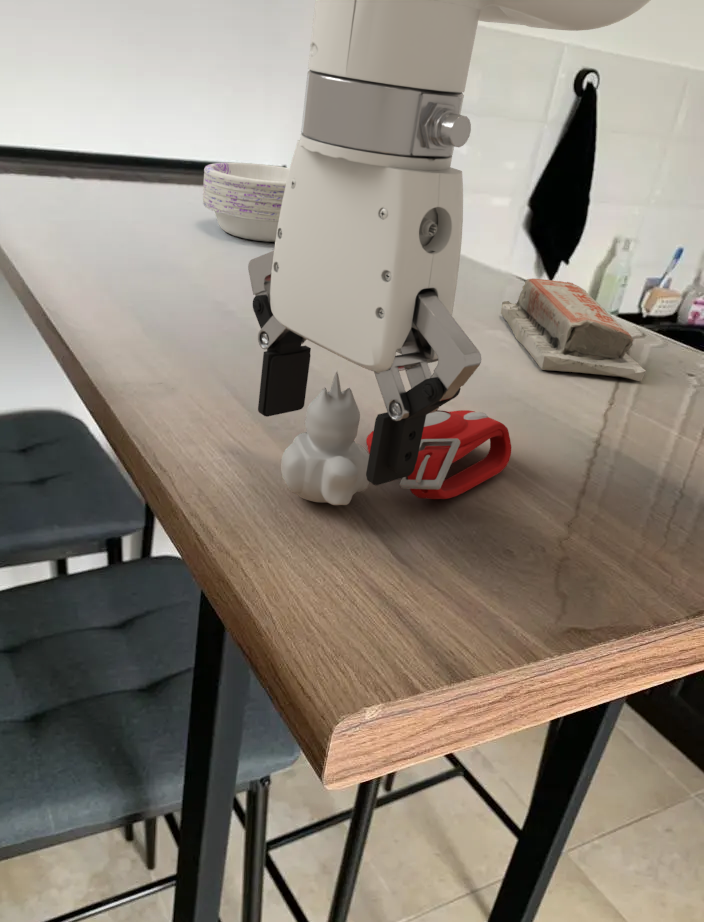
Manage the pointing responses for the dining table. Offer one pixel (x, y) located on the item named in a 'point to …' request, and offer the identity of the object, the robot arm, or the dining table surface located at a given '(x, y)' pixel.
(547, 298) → the packaged product
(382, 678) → the dining table surface
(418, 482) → the tracker holder
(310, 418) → the white figurine
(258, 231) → the paper bowls
